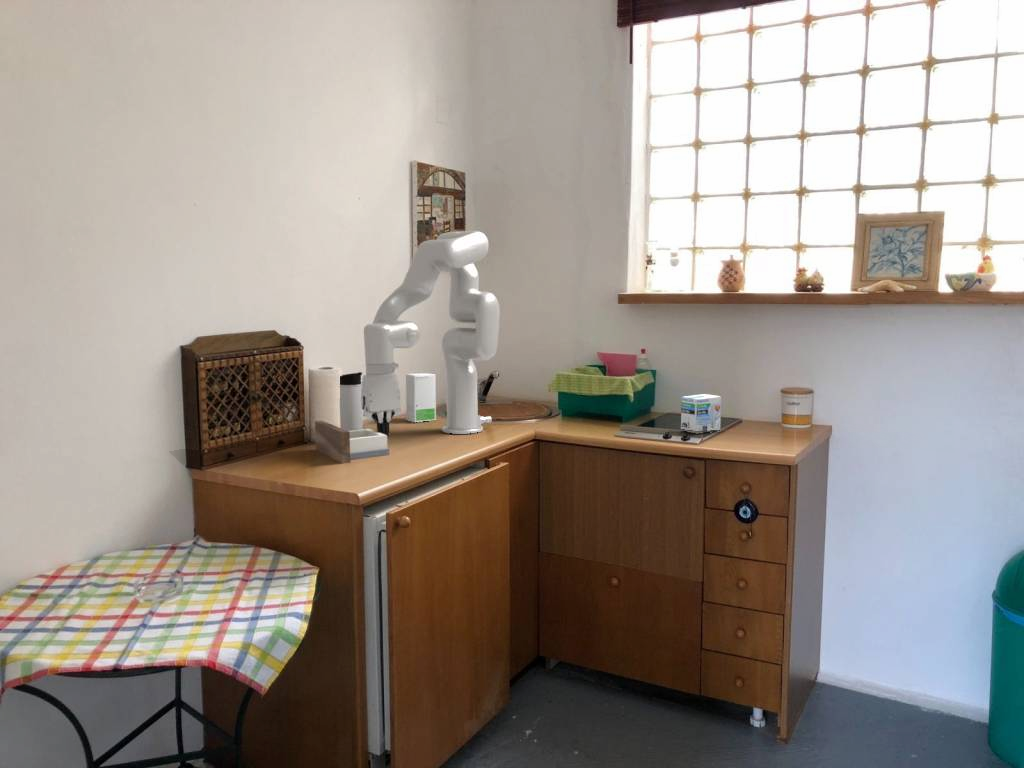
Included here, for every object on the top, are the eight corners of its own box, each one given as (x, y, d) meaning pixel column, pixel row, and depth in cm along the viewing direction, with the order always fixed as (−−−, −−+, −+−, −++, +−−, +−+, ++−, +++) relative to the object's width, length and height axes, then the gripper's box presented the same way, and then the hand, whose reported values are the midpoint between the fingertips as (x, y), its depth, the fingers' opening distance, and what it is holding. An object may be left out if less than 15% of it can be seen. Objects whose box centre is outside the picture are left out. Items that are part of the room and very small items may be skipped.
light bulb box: (696, 435, 235) (696, 398, 234) (679, 431, 241) (680, 396, 240) (721, 431, 241) (722, 395, 240) (704, 427, 247) (705, 393, 245)
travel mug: (359, 443, 225) (357, 373, 223) (337, 443, 226) (334, 373, 224) (367, 439, 231) (365, 371, 229) (346, 438, 233) (343, 370, 230)
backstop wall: (322, 449, 218) (321, 420, 217) (350, 462, 201) (349, 431, 200) (315, 450, 217) (314, 421, 216) (342, 463, 200) (341, 432, 199)
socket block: (368, 445, 222) (367, 428, 221) (389, 454, 210) (388, 435, 210) (326, 450, 215) (326, 432, 215) (346, 460, 204) (345, 441, 203)
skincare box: (414, 423, 258) (413, 375, 256) (405, 420, 263) (404, 373, 261) (437, 420, 262) (436, 374, 260) (428, 418, 268) (427, 372, 266)
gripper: (399, 365, 221) (402, 430, 224) (348, 370, 213) (352, 438, 215) (411, 368, 215) (414, 434, 217) (359, 373, 206) (363, 442, 209)
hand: (383, 436), depth 216 cm, fingers closed
